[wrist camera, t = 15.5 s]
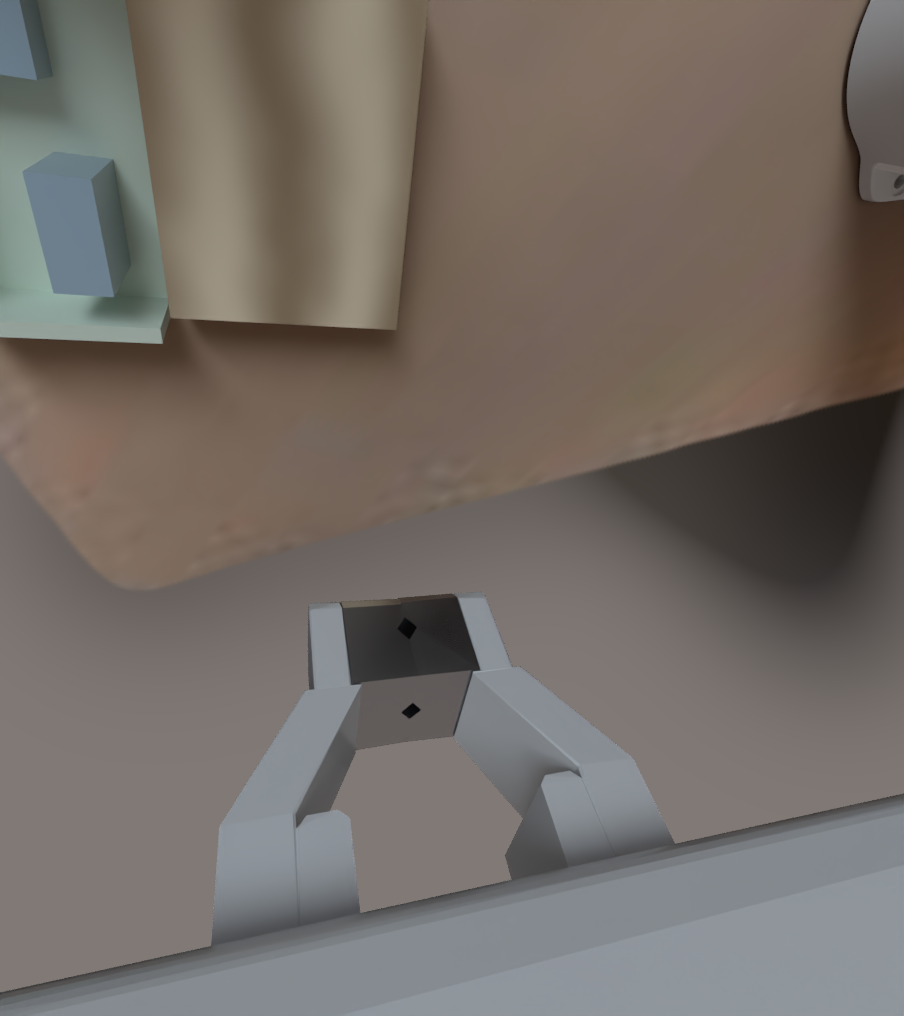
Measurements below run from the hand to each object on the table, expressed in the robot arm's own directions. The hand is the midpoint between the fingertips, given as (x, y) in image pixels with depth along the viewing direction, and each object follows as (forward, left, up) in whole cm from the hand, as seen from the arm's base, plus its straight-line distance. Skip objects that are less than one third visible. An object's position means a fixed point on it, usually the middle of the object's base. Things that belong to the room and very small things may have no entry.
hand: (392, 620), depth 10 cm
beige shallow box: (+1, -3, -30) cm, 30 cm away
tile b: (+9, +1, -27) cm, 28 cm away
